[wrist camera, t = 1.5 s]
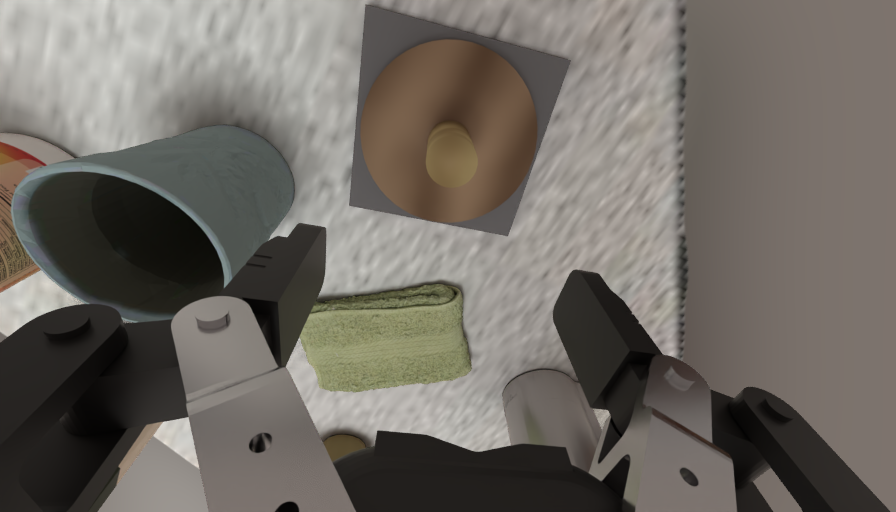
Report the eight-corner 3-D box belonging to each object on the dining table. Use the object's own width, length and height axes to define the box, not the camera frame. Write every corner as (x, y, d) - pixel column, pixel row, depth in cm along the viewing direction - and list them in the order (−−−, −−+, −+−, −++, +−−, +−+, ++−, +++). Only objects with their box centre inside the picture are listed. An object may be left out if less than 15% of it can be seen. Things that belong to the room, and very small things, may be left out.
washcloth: (288, 296, 35) (275, 318, 32) (459, 274, 34) (461, 294, 31) (328, 380, 42) (321, 404, 39) (472, 364, 41) (475, 387, 38)
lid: (561, 66, 24) (594, 72, 19) (504, 230, 30) (517, 267, 25) (373, 16, 22) (353, 7, 17) (355, 201, 29) (338, 234, 23)
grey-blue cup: (327, 178, 28) (263, 254, 18) (266, 255, 32) (184, 354, 22) (204, 83, 24) (35, 111, 14) (151, 183, 28) (-14, 263, 18)
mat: (567, 60, 24) (570, 60, 24) (506, 232, 31) (507, 236, 31) (367, 5, 22) (365, 4, 22) (350, 202, 29) (349, 205, 29)
